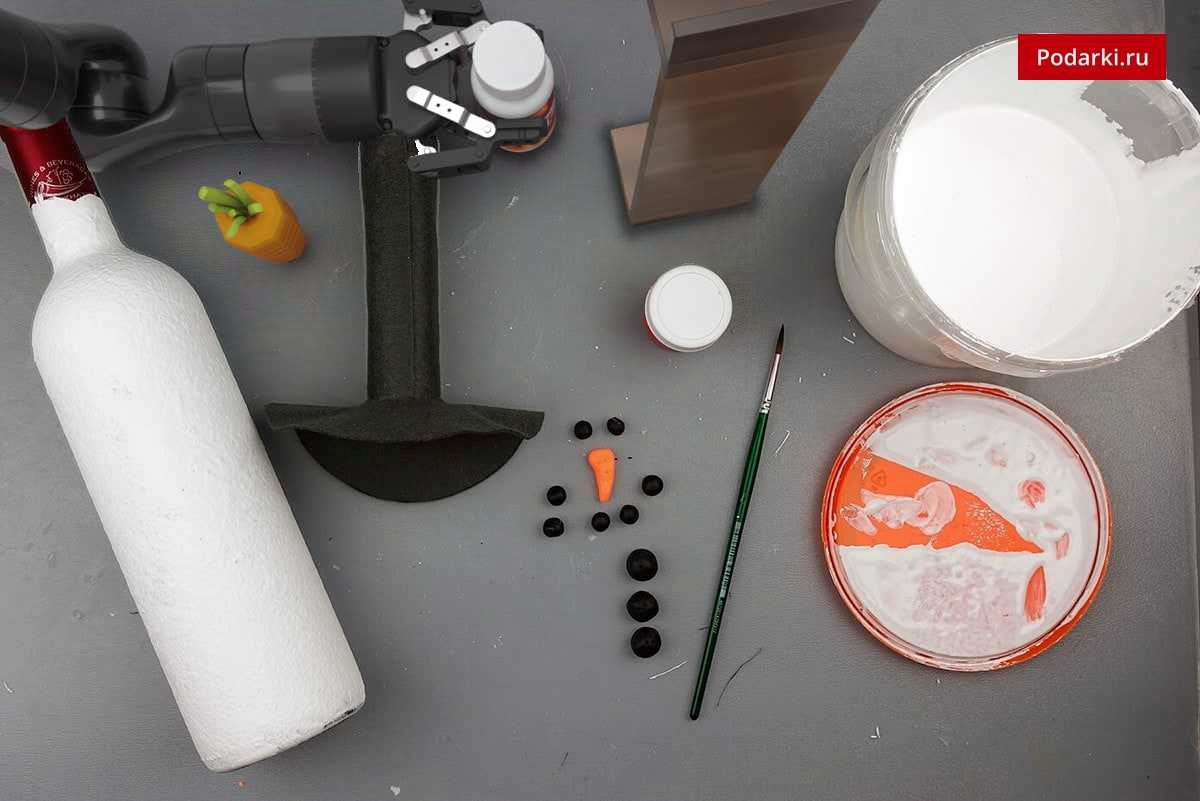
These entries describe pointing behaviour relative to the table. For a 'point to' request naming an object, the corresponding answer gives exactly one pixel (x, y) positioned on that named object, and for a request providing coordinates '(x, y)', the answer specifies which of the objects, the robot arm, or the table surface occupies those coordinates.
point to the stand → (717, 133)
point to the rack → (749, 30)
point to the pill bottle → (513, 77)
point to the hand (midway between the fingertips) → (544, 83)
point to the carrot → (256, 220)
